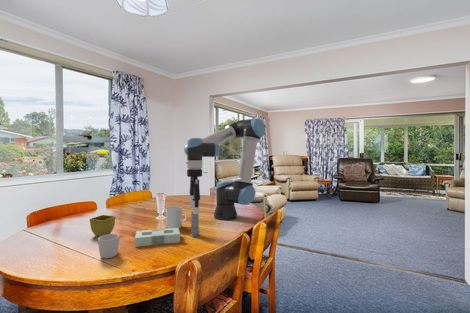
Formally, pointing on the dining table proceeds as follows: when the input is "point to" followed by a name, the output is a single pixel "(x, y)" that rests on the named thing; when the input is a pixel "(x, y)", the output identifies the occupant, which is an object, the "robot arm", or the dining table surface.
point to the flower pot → (102, 225)
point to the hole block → (157, 237)
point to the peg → (194, 225)
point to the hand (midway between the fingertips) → (194, 210)
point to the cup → (108, 245)
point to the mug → (174, 217)
